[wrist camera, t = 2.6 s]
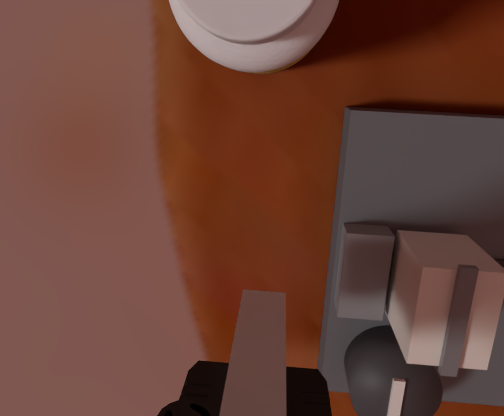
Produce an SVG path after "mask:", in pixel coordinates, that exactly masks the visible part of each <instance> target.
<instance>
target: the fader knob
mask: <svg viewBox="0 0 504 416" xmlns="http://www.w3.org/2000/svg"><path fill="white" fill-rule="evenodd" d="M503 299H504V268H503V267H502V266H501V265H500V264H498V263H497V262H496V261H495V260H494V259H493V258H492V257H491V256H490V255H488V254H487V253H486V252H485V251H484V250H483V249H482V248H481V247H480V246H479V245H477V244H476V243H475V242H474V241H473V240H472V239H471V238H470V237H469V236H467V235H461V234H447V233H432V232H418V231H403V230H397V234H396V241H395V248H394V254H393V261H392V268H391V274H390V281H389V288H388V295H387V301H386V308H385V312H386V315H387V317H388V320H389V322H390V324H391V327H392V329H393V332H394V334H395V337H396V339H397V341H398V344H399V346H400V349H401V351H402V353H403V356H404V358H405V361H406V363H408V364H420V365H431V366H439V367H438V372H439V374H440V376H451V377H457V373H458V368H467V369H479V370H487V368H488V364H489V360H490V355H491V351H492V347H493V342H494V338H495V334H496V329H497V325H498V320H499V316H500V312H501V307H502V303H503Z"/></svg>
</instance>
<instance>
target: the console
mask: <svg viewBox="0 0 504 416" xmlns="http://www.w3.org/2000/svg"><path fill="white" fill-rule="evenodd" d="M397 230H403V231H418V232H432V233H447V234H461V235H467V236H469V237H470V238H471V239H472V240H473V241H474V242H475V243H476V244H477V245H479V246H480V247H481V248H482V249H483V250H484V251H485V252H486V253H487V254H488V255H490V256H491V257H492V258H493V259H494V260H495V261H496V262H497V263H498V264H500V265H501V266H502V267H503V268H504V116H502V115H484V114H466V113H449V112H431V111H413V110H395V109H377V108H359V107H345V112H344V122H343V131H342V141H341V150H340V160H339V169H338V178H337V188H336V197H335V207H334V216H333V226H332V235H331V245H330V254H329V263H328V273H327V282H326V292H325V301H324V311H323V320H322V329H321V339H320V348H319V358H318V370H319V371H320V372H321V374H322V375H323V377H324V378H325V379H326V381H327V385H328V391H336V392H347V393H350V397H351V401H352V405H353V407H354V409H355V411H356V413H357V414H358V415H359V416H433V415H434V414H435V412H436V411H437V409H438V408H439V406H440V403H441V401H450V402H461V403H472V404H484V405H495V406H504V299H503V303H502V307H501V312H500V316H499V320H498V325H497V329H496V334H495V338H494V342H493V347H492V351H491V355H490V360H489V364H488V368H487V370H479V369H467V368H458V373H457V377H451V376H440V374H439V372H438V367H439V366H431V365H420V364H408V363H406V361H405V358H404V356H403V353H402V351H401V349H400V346H399V344H398V341H397V339H396V337H395V334H394V332H393V329H392V327H391V324H390V322H389V320H388V317H387V315H386V312H385V308H386V301H387V295H388V288H389V281H390V274H391V268H392V261H393V254H394V248H395V241H396V234H397Z"/></svg>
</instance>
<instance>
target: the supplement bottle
mask: <svg viewBox="0 0 504 416" xmlns="http://www.w3.org/2000/svg"><path fill="white" fill-rule="evenodd" d="M169 2H170V6H171V9H172V12H173V14H174V17H175V19H176V21H177V23H178V25H179V27H180V28H181V30H182V32H183V33H184V34H185V36H186V37H187V38H188V40H189V41H190V42H191V43H192V44H193V45H194V46H195V47H196V48H197V49H198V50H199V51H200V52H201V53H202V54H204V55H205V56H207V57H208V58H209V59H211V60H213V61H215V62H216V63H218V64H221V65H223V66H225V67H228V68H230V69H234V70H237V71H242V72H249V73H256V74H268V73H275V72H278V71H282V70H284V69H287V68H289V67H291V66H293V65H294V64H296V63H297V62H299V61H300V60H301V59H302V58H303V57H305V56H306V55H307V54H308V53H309V51H310V50H311V49H312V48H313V47H314V46H315V45H316V43H317V42H318V41H319V40H320V39H321V37H322V36H323V34H324V33H325V31H326V30H327V28H328V26H329V25H330V23H331V21H332V19H333V17H334V14H335V12H336V9H337V6H338V3H339V0H169Z"/></svg>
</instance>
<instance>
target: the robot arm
mask: <svg viewBox="0 0 504 416" xmlns="http://www.w3.org/2000/svg"><path fill="white" fill-rule="evenodd" d="M157 416H332V413H331V407H330V399H329V392H328V385H327V381H326V379H325V378H324V377H323V375H322V374H321V372H320V371H319V370H318V369H308V368H296V367H286V309H285V293H280V292H267V291H253V290H243V293H242V298H241V304H240V309H239V314H238V319H237V325H236V330H235V335H234V340H233V346H232V351H231V356H230V361H229V363H222V362H210V361H198V362H197V363H196V364H195V365H194V366H193V367H192V368H191V369H190V370H189V371H188V374H187V377H186V380H185V383H184V386H183V389H182V393H181V396H180V399H179V400H178V401H175V402H172V403H170V404H168V405H167V406H165V407H164V408H162V409H161V411H160V412H159V414H158V415H157Z"/></svg>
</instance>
